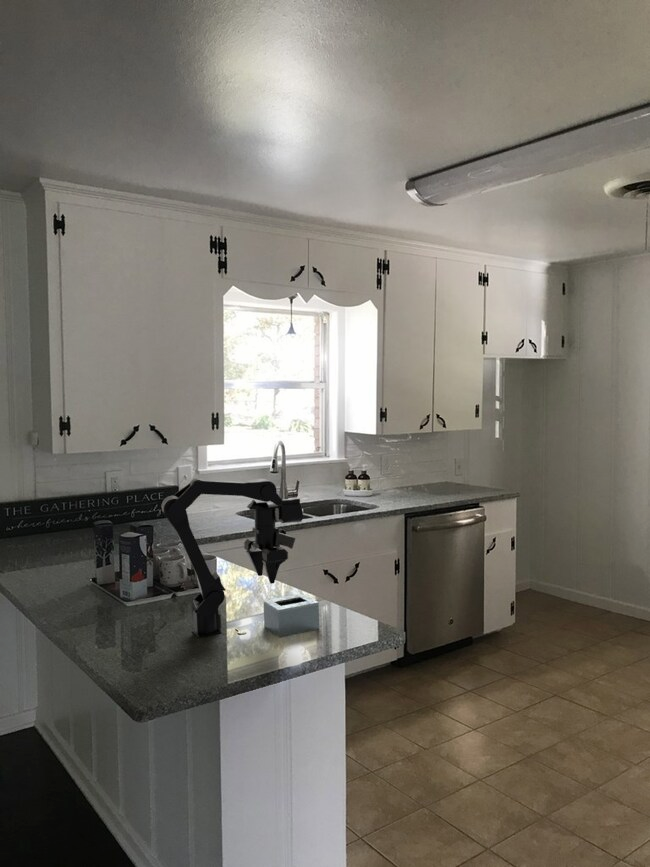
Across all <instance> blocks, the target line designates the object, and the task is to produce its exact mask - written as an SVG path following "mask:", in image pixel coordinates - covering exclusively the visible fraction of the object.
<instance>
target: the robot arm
mask: <svg viewBox="0 0 650 867" xmlns="http://www.w3.org/2000/svg"><path fill="white" fill-rule="evenodd" d="M277 492H278V491H277V487H276V484H274V483H273V482H272V481H270V480H268V479H266V478H255V479H254V478H253V479H247V480H243V481H233V480H220V479H219V480H218V479H214V480H213V479H201V478H193V479H192V480H191V481H190V482H189V483H188V484H187V485H185V486H184V487H183V488H181V489H179V490H178V491H177V492H176V493H175V494H173V495H170V496H169V495H168V496H167V497H165V498H164V499H163V500H162V503H161V511H162V512H163V514H164V516H165V517H166V519H167V521H168V522H169V523H170V524H171V526H172V527H173V529H174V530H175V532H176V533H177V536H178V538H179V540H180V542H181V544H182V546H183V548H184V550H185V553H186V555H187V557H188V559H189V562H190V563H191V566H192V568H193V570H194V573H195V574H196V579H197V580H196V581H197V584H198V585H197V586H198V588H199V593H198V594H197V595H196V596H195V597H194V598H193V600H192V602H193V604H194V607H195V608H196V609H195V610H193V611H192V613H193V614H192V616H193V628H192V629H191V630H192V631H191V632H192V633H194V634H195V635H196V636H197V637H198V638H205V637H209V636H213V635H214V636H215V635H218V634H219V635H220V634H222V632H223V631H222V621H221V620H222V619H221V618H222V617H221V613H220V612H219V610H220V609H219V606H220V605H222V604H223V602H224V601H225V598H226V596H225V595H226V594H225V591H227V590H226V588H225V587H224V585H223V583H222V579H221V577H220V575H219V574H218V572H217V571H215V572H214V573H213V574H212V572H211V571H210V569H209V566H208V564H207V562H206V559H205V557H204V556H203V553H202V550H201V549H200V547H199V544H198V542H197V540H196V538H195V536H194V533H193V531H192V529H191V526H190V521H189V517H188V513H187V512H188V511H187V509H188V508H189V507H190V506H191V505H193V503H194V502H195V501H196V500H197V498H199V497H200V496H201V495H214V496H215V495H218V496H235V497H236V496H237V497H238V496H239V497H245V498H246V497H247V498H249V499H252V501H251V502H250V503H249V504H248V505H247V506H246V507H247V509H248V510H250V511H253V510H254V526H253V527H252V532H254V538H247V539H246V540H245V541H244V544H243V545H244V546H243V549H244V550H246V551H245V552H246V553H247V556H248V557H249V559H250V561H251V564H252V566H253V567H254V570H255V571H256V575H257V576H258V577H262V576H263V571H264V570H265V572H266V576H267V579H268V581H269V583H270V585H271V584H272V585H273V584H275V581H276V578H277V575H278V571H279V568H280V566H281V565H282V564H283V563H285V562H286V561H287V560H289V551H288V550H286V549H285V548H283V547H281V546H284V547H288V548H289V549H293V548H294V544H295V542H296V537H294V536H293V535H290V534H287V531H286V530H285V529H282V528H277V527H276V520H277V521H279V522H280V523H281V524H288V523H289V524H291V523H302V522H303V517H304V516H303V515H304V511H303V507H302V503H301V498H299V497H292V498H286V499H285V498H284V499H282V497H280V495H279V494H278V493H277ZM256 500H257V501H261V502H257V501H256ZM268 502H271V503H272V504H269V503H268Z"/></svg>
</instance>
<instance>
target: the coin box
mask: <svg viewBox="0 0 650 867" xmlns="http://www.w3.org/2000/svg"><path fill="white" fill-rule="evenodd" d="M319 603H320V602H318V600H315V599H314V598H312V597H309V596H308V595H306V594H304V593H298V594H292V595H287V596H281V597H277V598H272V599H270V598H269V599H265V600H263V621H264V622H263V623H264V626H263V627H264V628H265V629H267V630H269V632H271V633H272V634H274V635H275V636H277V637H278V638H282V637H286V636H287V637H288V636H292V635H297V634H301V633H306V632H310V631H312V632H313V631H316V630H319V629H320V606H319V605H320V604H319Z"/></svg>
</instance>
